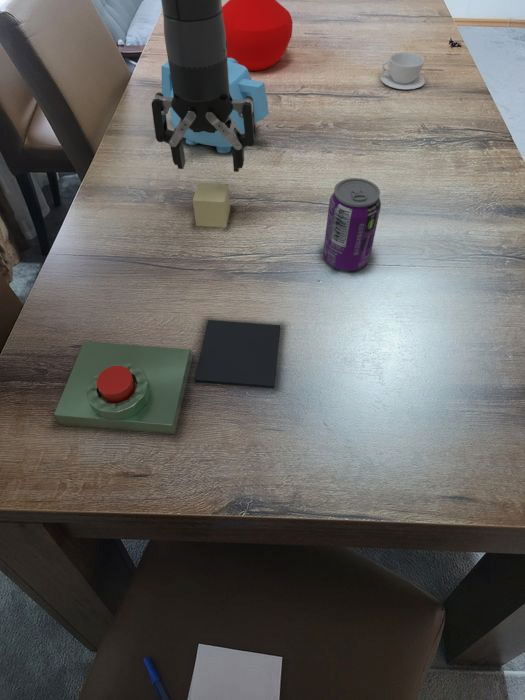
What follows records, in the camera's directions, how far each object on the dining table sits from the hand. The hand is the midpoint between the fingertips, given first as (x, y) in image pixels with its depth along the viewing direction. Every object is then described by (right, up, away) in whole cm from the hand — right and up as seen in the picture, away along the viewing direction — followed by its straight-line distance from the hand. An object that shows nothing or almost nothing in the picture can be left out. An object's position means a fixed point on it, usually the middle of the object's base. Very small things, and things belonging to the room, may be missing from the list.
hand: (209, 167), depth 75 cm
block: (0, -6, +7) cm, 9 cm away
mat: (+5, -28, -10) cm, 31 cm away
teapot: (-2, +13, +22) cm, 26 cm away
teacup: (+40, +33, +37) cm, 64 cm away
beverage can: (+21, -14, +1) cm, 25 cm away
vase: (+6, +42, +44) cm, 61 cm away
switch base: (-9, -33, -14) cm, 37 cm away
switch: (-9, -32, -18) cm, 38 cm away
